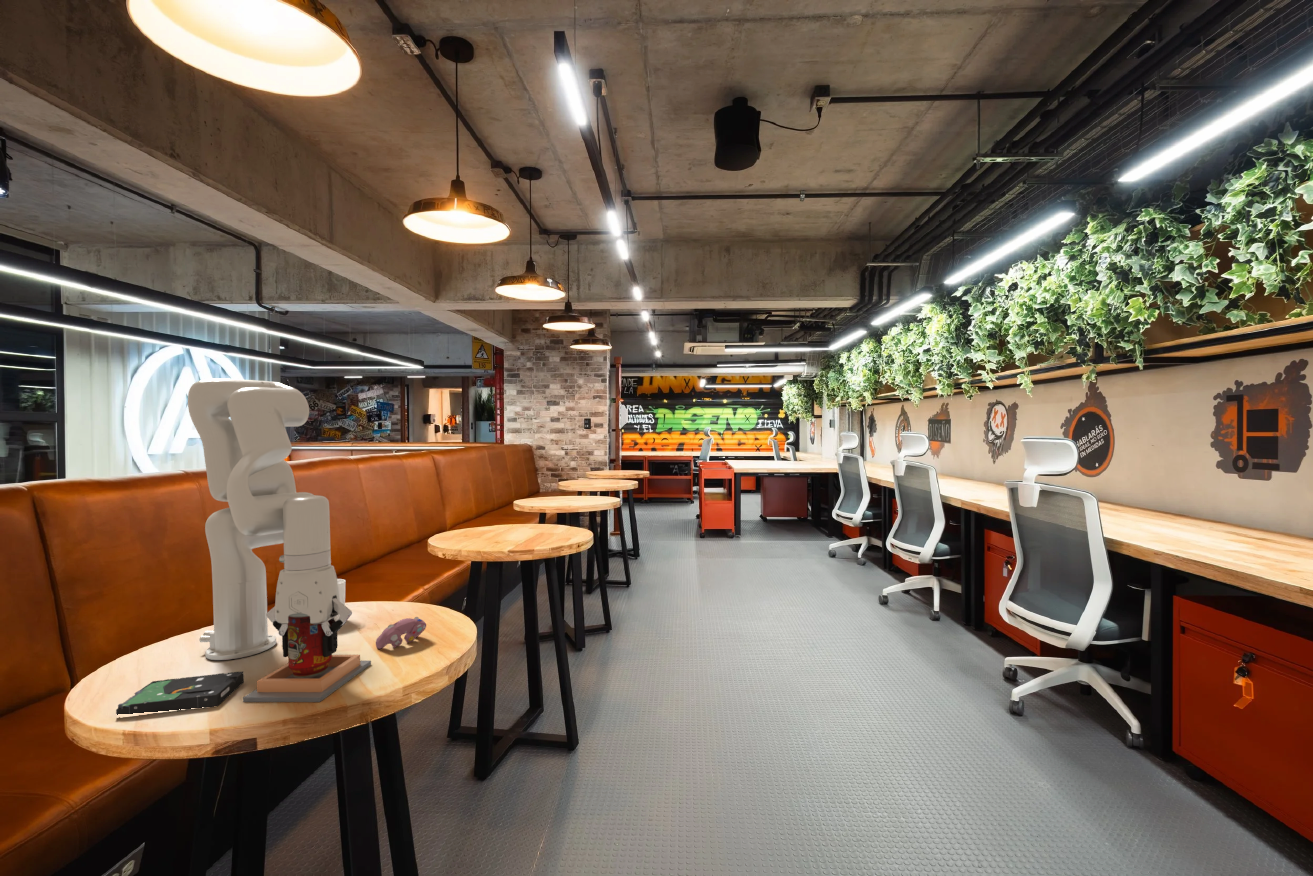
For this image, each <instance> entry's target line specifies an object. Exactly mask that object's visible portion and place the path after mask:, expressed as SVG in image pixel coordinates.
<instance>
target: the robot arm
mask: <svg viewBox="0 0 1313 876" xmlns="http://www.w3.org/2000/svg"><path fill="white" fill-rule="evenodd" d="M187 407H188V408H187V409H188V413H189V416H190V419H191V421H192V424H193V426H194V428H195V429H196V431H197V434H198V436H199V437H200V438H199V439H201V444H202V448H203V455H204V456H203V457H204V462H205V463H204V464H205V470H206V476H207V485H208V489H209V494H210V495H211V497H212V498H213V499H214V500H216V501H219V502H224V503H225V502H227V503H228V506H229V507H226V508H223V509H219V510H217V511H214V512H213V513H211V514H210V515H209V516H208V518H207V520H206V522H205V525H204V527H205V528H204V532H205V536H206V540H207V541H206V542H207V544H208V549H209V555H210V561H211V579H212V605H213V606H212V607H213V611H212V612H213V614H212V615H213V629H212V630H211V629H210V630H209V629H208V630H205V631H204V632H203V634H202V635H201V636H200V638H199V642H200V643H209V647H208V648H207V649H206V650H205V658H207V660H212V661H227V660H236V659H241V658H247V657H250V656H255V655H257V654H260V653H262V652H264V651H267V650H269V649H271V648H272V647H274V646H275V645H276V644H277V637H276V636H275V635H272V634H269V631H268V630H269V628H268V626H269V625H268V624H269V623H268V620H269V621H270V622H271V623H272V626H273V627H274V628H275V629H276V630H277V631H278V632H277V634H278V635H279V636H280V637H281V638H282V640H281V641H282V645H281V647H282V648H281V649H282V657H283V658H288V616H289V615H291V614H296V613H297V612H298V613H300V612H302V613H303V614H307V615H308V616H310V623H311V624H321V626H322V628H323V630H324V632H325V634H326V635H325V636H323V638H322V641H323V656H324V657H328V656H330V655H331V654H332V655H334V654H335V653H336V652H337V651H338V650H337V649H338V646H339V645H338V632H339V631H340V630H341V628H342V627H343V626H344V625H345V624H346V622H347V621H348V620H349V619H350V617H351V616H352V614H353V612H352V610H351V609H350V608H349V607H347V606H346V604H345V605H344V604H342V603H341V602H340V599H339V589H338V582H337V579H338V576H337V573H336V569H335V566H334V565H332V564H331V563H332V559H331V558H332V557H331V553H332V552H331V526H330V525H331V521H330V520H331V519H330V514H331V513H330V501H329V499H328V498H327V497H326V496H323V495H314V493H311V492H306V491H300V492H297V488H296V481H295V477H294V472H293V469H292V467H291V465H290V464H289V463H288V462H287V461H286V460H285V459H287V457H289V456H290V454H291V452H292V450H293V449H292V448H293V446H292V443H291V441H290V438H289V435H288V433H287V429H286V428H287V427H288V428H289V427H292V428H293V427H301V426H303V425H305V423H306V422H307V421H308V419H309V416H310V407H309V403H308V400H307V399H306V396H305V395H304V394H303V392H301V391H300V390H299V389H297V388H295V387H292V386H288V385H286V384H283V383H282V382H279V381H270V380H269V381H268V380H255V379H239V378H222V377H221V378H220V377H219V378H217V377H216V378H207V379H205V378H204V379H202V380H201V379H200V380H198V381H196V382H194V383H193V384H192V385H191V386H190V387H189V390H188V394H187ZM280 544H283V554H282V555H280V556H279V559H278V561H279V563H283V568H284V569H280V570H279V575H278V578H277V579H278V580H277V583H276V590H275V591H276V592H275V599H274V600H275V603H274V607H272V608H271V609H269V610H268V598H267V597H268V591H267V572H266V571H267V569H266V566H265V563H264V562H263V560H262V559H261V558H260V557H258V556H257V555H256V554H255V553H254V551H253V550H254V549H256V548H257V549H258V548H260V547H261V548H262V547H267V546H275V545H280ZM338 614H339V615H340V617H339V619H338V620H336V618H335V616H337V615H338ZM329 620H330V624H329V622H328V621H329ZM330 625H331V626H330Z"/></svg>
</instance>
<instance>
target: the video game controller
mask: <svg viewBox="0 0 1313 876" xmlns="http://www.w3.org/2000/svg"><path fill="white" fill-rule="evenodd" d="M426 628H427V623H426V622H425V621H424V620H423V619H422V618H419V617H418V616H415V617H414V618H412V617H411V618H403V619H399V620H398V621H397V622H395V623H393V624H389V625H388V626H387V627H385V629H383V631H381V633H380V635H378V637H377V638H376V639H375V647H376V648H377V649H383V648H384V647H386V646H388V645H389V644H391V646H392V647H393V648H397V647H396V646H398V647H400V646H401V645H402V643H403V639H404V641H405V642H406V643H407V644H408V642H410V643H412V642H414V641H415V639H416V638H417V637H419V636H420V635H422V633H423V632H424V631H425V630H426ZM403 635H404V638H402V636H403Z"/></svg>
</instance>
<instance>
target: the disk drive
mask: <svg viewBox="0 0 1313 876" xmlns="http://www.w3.org/2000/svg"><path fill="white" fill-rule="evenodd" d="M244 674H245V673H244V671H231V672H222V673H216V674H215V673H214V674H207V675H204V674H203V675H198V676H188V677H181V678H170V679H169V678H168V679H164V680H163V679H161V680H160V679H159V680H155V681H154V680H152V681H151V682H150V683H148V684H147V685H145V686H143V687H142V688H141V689H140V690H138V691H136V692H135V693H134V695H132V696H131V697H129V698H128V699H126V700H125V701H123V702H122V703H119V704H118V705H117V708H116V710H115V715H116V714H117V715H118V714H133V713H144V712H158V711H169V710H179V709H180V710H181V709H191V708H202V707H210V708H215V707H214V706H217V707H218V706H220V705H221V704H222V702H224V701H225V700H226V699H227V698H228V697H229V695H232V694H233V693H234V692H235V691H236V690H237V689H239V688H240V687H241V685H243V684H244V680H245V679H244V678H245V675H244Z"/></svg>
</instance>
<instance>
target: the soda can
mask: <svg viewBox="0 0 1313 876" xmlns="http://www.w3.org/2000/svg"><path fill="white" fill-rule="evenodd" d="M328 622H329V624H330V620H329V621H328ZM330 626H331V625H330ZM325 635H326V634H325V632H324V630H323V628H322V626H321V624H311V623H310V616H308V615H307V614H303V613H302V612H300V613H298V612H297V613H296V614H291V615H289V616H288V657H287V661H288V665H289V668H290V669H291V671H292V672H293V675H294V676H295V677H309V676H314V675H317V674H320V673H322V672H324V671H326V670H327V669H328V664H329V663H330V661H331V659H332V655H333V654H331V655H330V656H328V657H324V656H323V641H322V638H323V636H325Z"/></svg>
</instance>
